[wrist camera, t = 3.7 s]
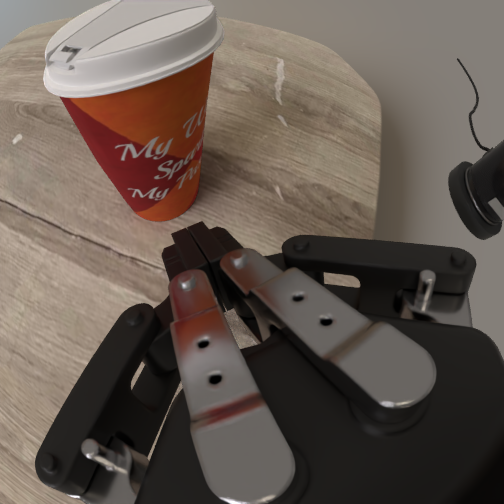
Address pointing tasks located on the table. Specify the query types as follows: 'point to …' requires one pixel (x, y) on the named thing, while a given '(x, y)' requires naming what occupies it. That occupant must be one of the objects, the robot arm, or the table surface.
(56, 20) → the table surface
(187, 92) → the paper cup
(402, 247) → the robot arm
